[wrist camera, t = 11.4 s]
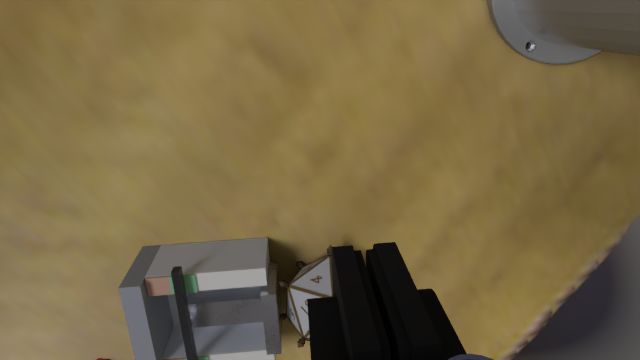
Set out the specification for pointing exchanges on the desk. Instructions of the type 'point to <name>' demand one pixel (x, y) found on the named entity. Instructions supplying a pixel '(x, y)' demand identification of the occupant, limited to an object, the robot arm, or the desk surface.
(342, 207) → the desk surface
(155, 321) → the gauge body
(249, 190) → the desk surface
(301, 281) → the game die
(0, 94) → the desk surface
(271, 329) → the grey channel block
